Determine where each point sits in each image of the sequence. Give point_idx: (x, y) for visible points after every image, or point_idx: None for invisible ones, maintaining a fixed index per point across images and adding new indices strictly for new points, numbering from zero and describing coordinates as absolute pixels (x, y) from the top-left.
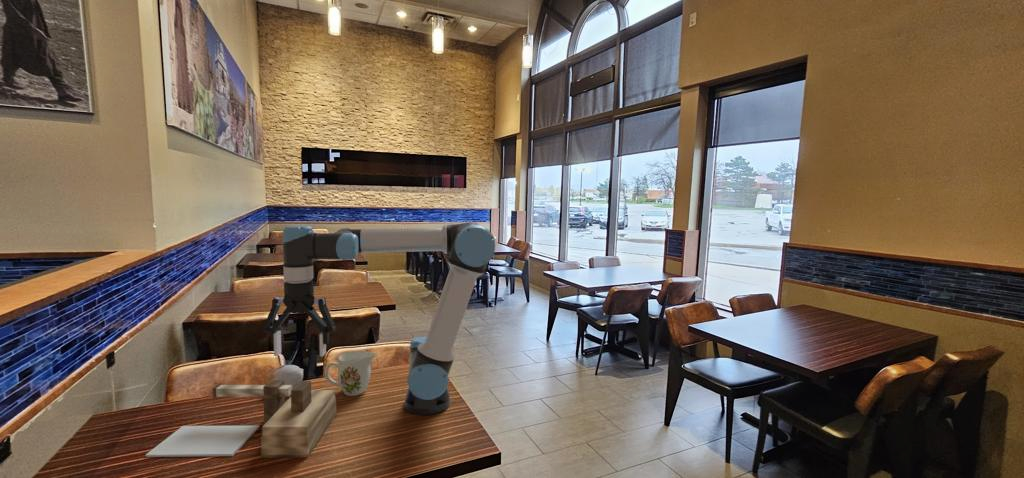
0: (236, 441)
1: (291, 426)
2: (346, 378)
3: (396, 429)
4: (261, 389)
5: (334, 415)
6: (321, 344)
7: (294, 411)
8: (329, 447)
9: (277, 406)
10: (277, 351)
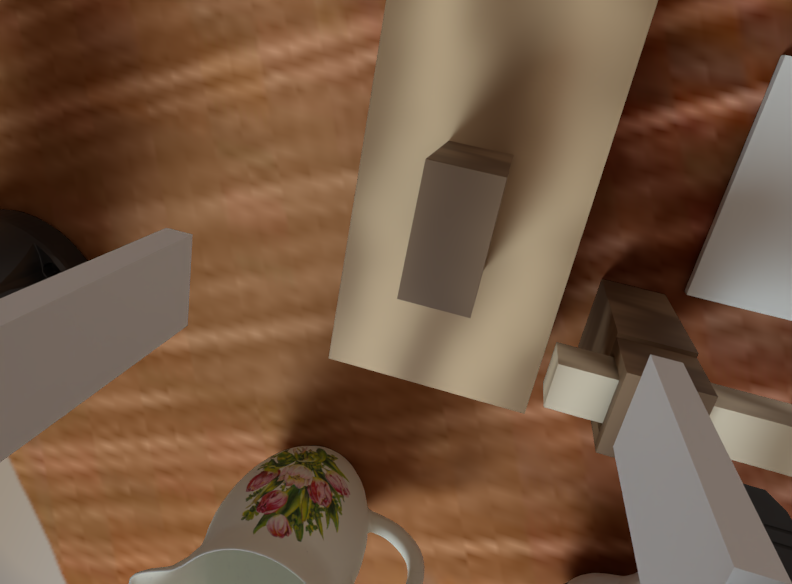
0: (780, 170)
1: None
2: (309, 490)
3: (106, 127)
4: (725, 407)
5: None
6: (81, 273)
7: (495, 152)
8: (347, 39)
9: (612, 317)
10: (654, 393)
